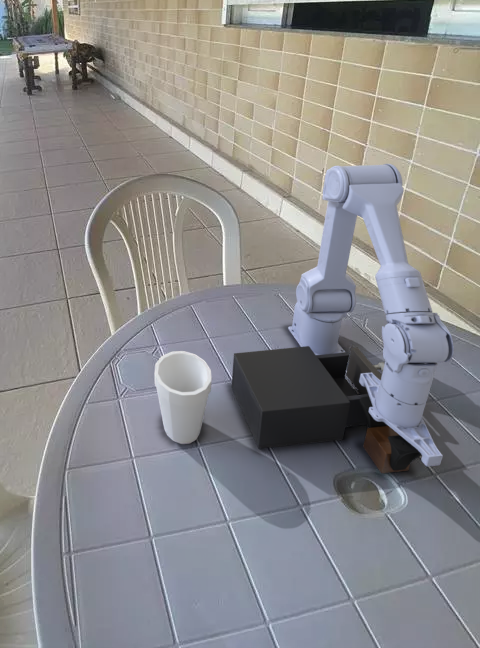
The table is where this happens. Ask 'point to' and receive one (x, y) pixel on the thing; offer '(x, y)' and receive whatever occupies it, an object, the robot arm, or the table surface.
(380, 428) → the block
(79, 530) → the table surface
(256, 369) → the black drawer box
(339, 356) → the sliding drawer
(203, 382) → the foam cup
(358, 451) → the table surface
